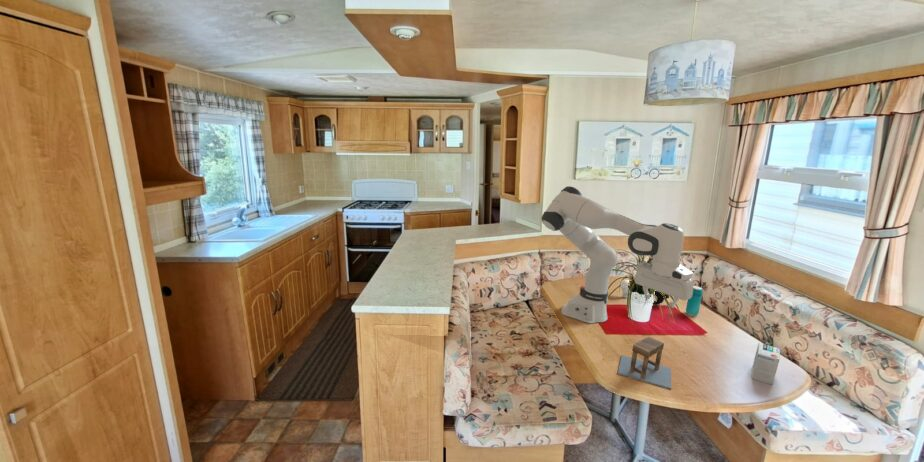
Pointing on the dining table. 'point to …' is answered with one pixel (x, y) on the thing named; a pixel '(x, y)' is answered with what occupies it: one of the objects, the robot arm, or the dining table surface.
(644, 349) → the stool
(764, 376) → the light bulb box
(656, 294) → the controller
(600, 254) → the robot arm
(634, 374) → the mat
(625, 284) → the lightbulb
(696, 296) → the beverage can
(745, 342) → the dining table surface
